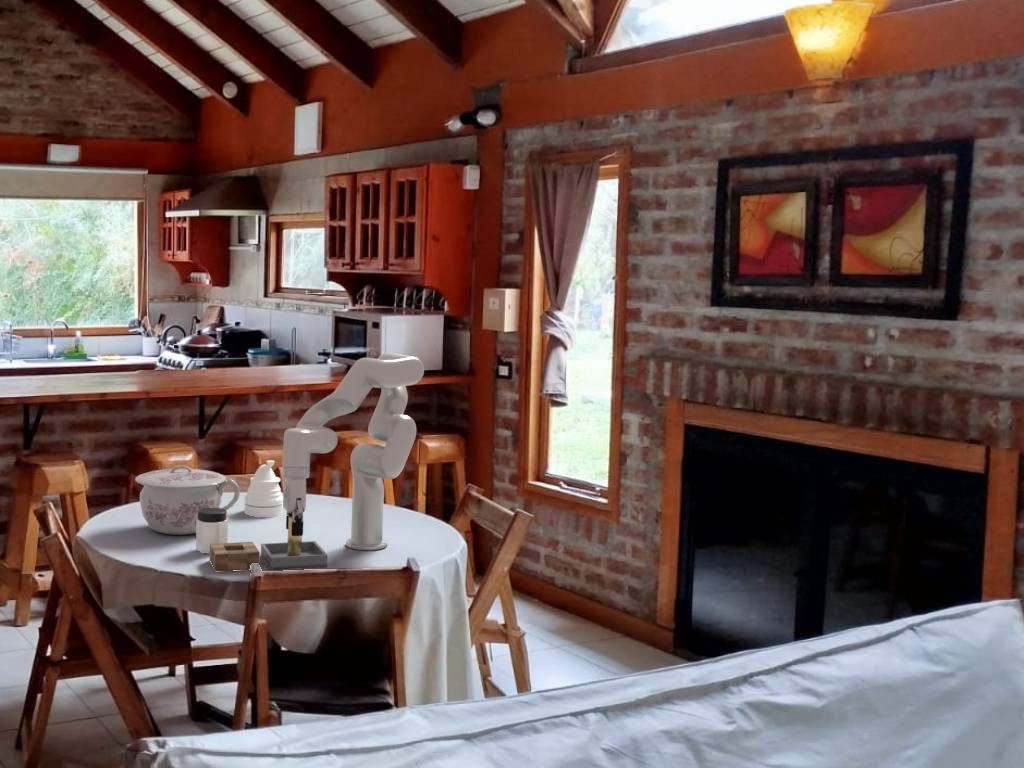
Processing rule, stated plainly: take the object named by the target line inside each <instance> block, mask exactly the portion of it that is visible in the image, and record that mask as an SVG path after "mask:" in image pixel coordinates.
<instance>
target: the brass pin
mask: <svg viewBox="0 0 1024 768" xmlns="http://www.w3.org/2000/svg"><path fill="white" fill-rule="evenodd" d="M295 517H296V516H295ZM292 522H293V516H290V517H289V523H288V529H287V530H288V531H287V542H288V543H287V556H301V545H302V542H303V535H302V536H292V535H291V532H292Z"/></svg>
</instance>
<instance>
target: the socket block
mask: <svg viewBox="0 0 1024 768" xmlns="http://www.w3.org/2000/svg"><path fill="white" fill-rule="evenodd" d="M260 556H261V551H260V550H259V549H258V548H257V546H256V545H255V543H254V542H253V541H237V542H235V541H234V542H227V543H214V544H210V554H209V562H210V561H211V563H212V565H213V567H214V569H215V571H230V572H234V571H233V570H248V571H250V570H249V569H250V565H251V564H252V563H259V564H260ZM211 563H210V564H211ZM212 565H211V566H212ZM213 567H212V568H213ZM214 569H213V570H214ZM215 571H214V572H215Z"/></svg>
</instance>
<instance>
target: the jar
mask: <svg viewBox="0 0 1024 768" xmlns="http://www.w3.org/2000/svg"><path fill="white" fill-rule="evenodd" d="M227 512H228V510H225V509H222V507H220V508H204V509H200V510H199V511H198V519H197V523H196V533H195V537H196V538H195V550H196V549H197V550H198V551H200V552H202V553H210V544H214V543H228V538H229V536H228V534H229V532H228V530H229V529H228V528H229V519H228V518H227V516H228V515H227V514H228V513H227ZM197 550H196V551H197ZM198 551H197V552H198ZM200 552H199V553H200ZM202 553H201V554H202Z"/></svg>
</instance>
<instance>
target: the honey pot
mask: <svg viewBox="0 0 1024 768" xmlns="http://www.w3.org/2000/svg"><path fill="white" fill-rule="evenodd" d="M275 461H276V460H266V464H262V465H260V466H259V467H258V469H257V470H256V471H255V473H254V475H253V476H252V477H250V480H249V481H250V484H249V486H248V488H247V491H246V494H245V496H244V508H243V510H244V511H243V512H244V513H245V514H247V515H250V516H249V517H251V516H254V517H253V518H260V517H262V519H264V518H263V517H265V518H266V519H267V518H275V517H280V516H282V515H283V514H284V507H283V495H282V494H283V493H282V491H281V490H282V489H281V487H280V485H279V482H281V478H280V477H278V476H276V475H275V472H274V471H273V469H272V467H273V466H274V465H275ZM244 513H243V514H244ZM245 514H244V515H245ZM247 515H246V516H247Z"/></svg>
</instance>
